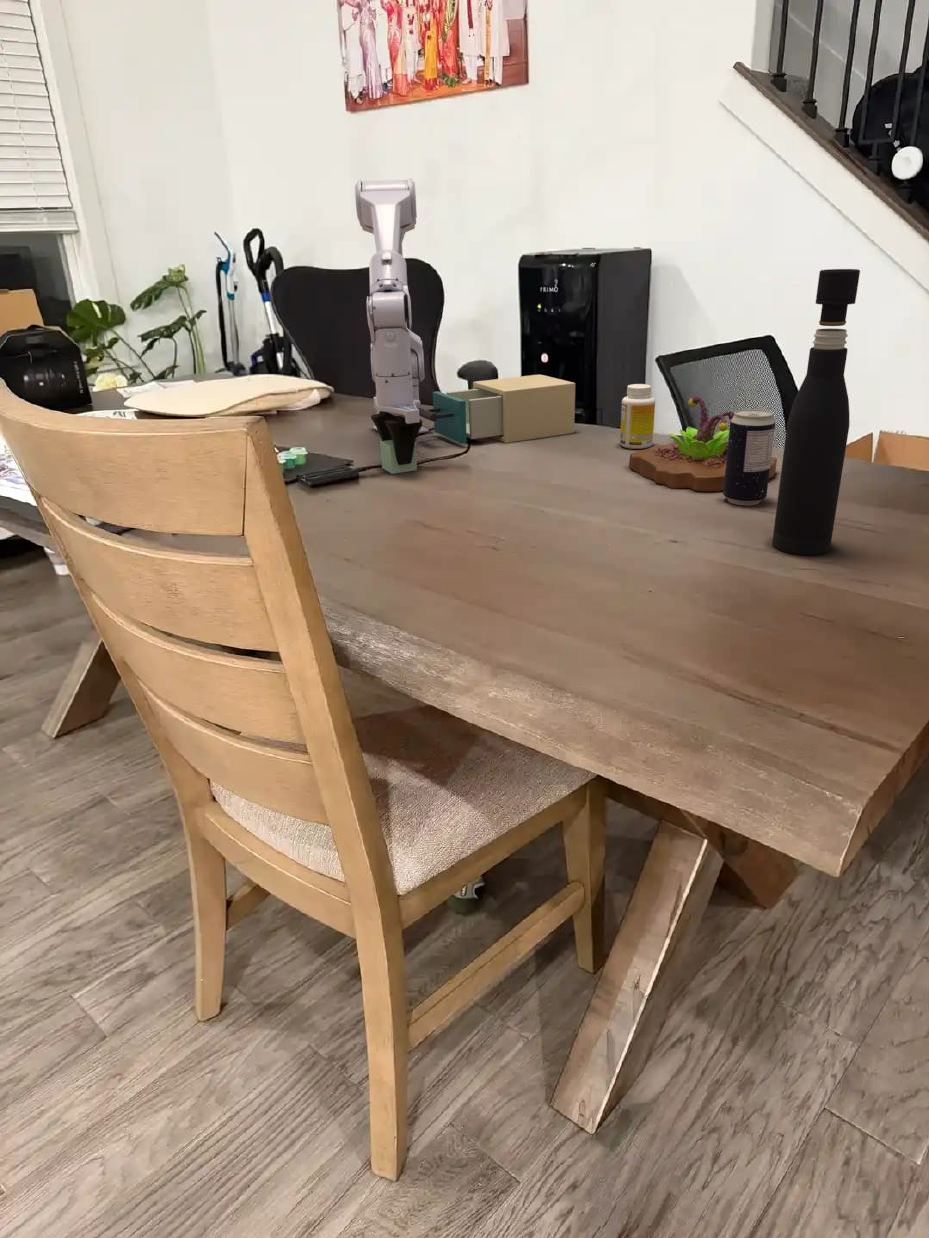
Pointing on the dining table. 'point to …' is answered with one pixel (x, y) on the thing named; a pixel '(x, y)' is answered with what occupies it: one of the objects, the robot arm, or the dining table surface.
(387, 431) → the robot arm
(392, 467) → the sage green cube
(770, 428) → the beverage can
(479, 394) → the drawer
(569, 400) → the beige box
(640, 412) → the supplement bottle
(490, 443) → the dining table surface
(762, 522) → the dining table surface
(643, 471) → the plant
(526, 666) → the dining table surface
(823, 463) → the black water bottle
